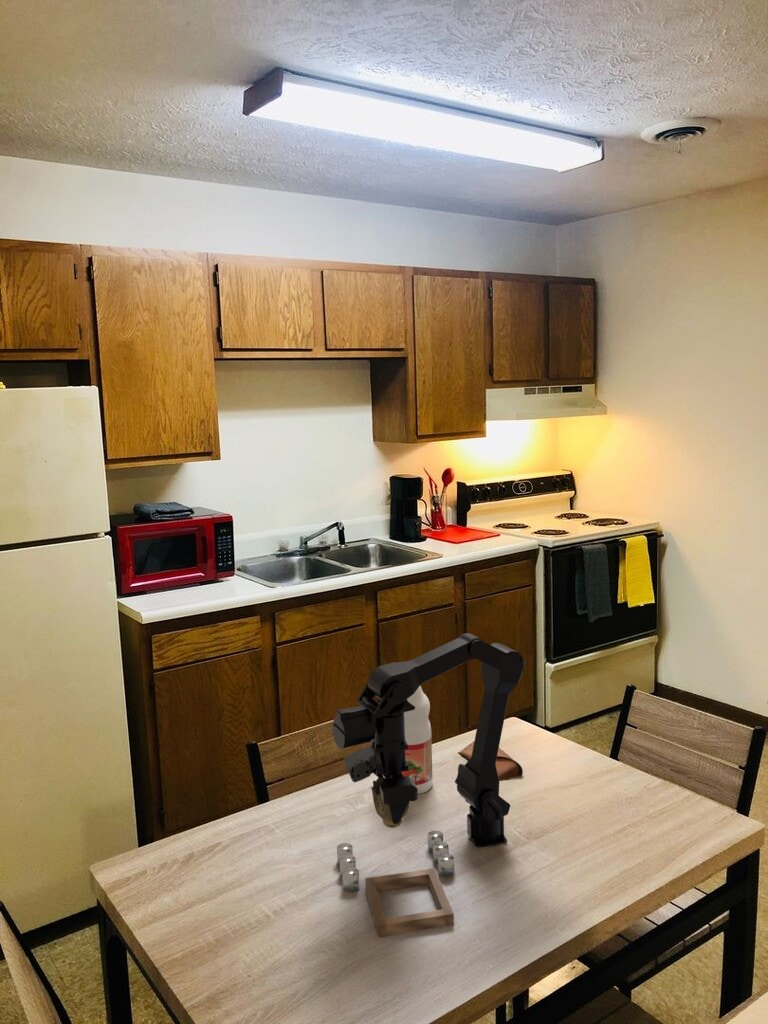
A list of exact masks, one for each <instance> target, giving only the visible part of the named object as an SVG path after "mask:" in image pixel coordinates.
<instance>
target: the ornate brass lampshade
mask: <svg viewBox="0 0 768 1024" xmlns="http://www.w3.org/2000/svg"><path fill="white" fill-rule="evenodd" d="M385 779H388V778H385ZM382 781H383V779H382V778H381V777H379V778H378V777H377V778H376V780H373V781H372V786H371V787H370V788H371V793H372V794H371V795H372V798H373V799H372V800H373V805H374V809H375V812H376V814H377V815H378V816H379V817H380V819H382V824H383V825H384V826H385V827H387V828H388V829H394V828H395V829H396V828H398V827H400V826H401V824H402V823H403V818H404V817H405V816H406V815H407V814H408V811H409V809H410V802H411V801H410V802H409V804H408V806H407V808H406V810H405V812H404V814H403V816H402V818H401V820H400V822H399V823H398V824H393V821H392V817H391V812H390V808H389V804H384V803H383V800H382V798H381V795H380V793H379V792H380V784H381V782H382Z"/></svg>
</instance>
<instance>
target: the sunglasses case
mask: <svg viewBox="0 0 768 1024" xmlns="http://www.w3.org/2000/svg"><path fill="white" fill-rule="evenodd" d="M474 741H475V740H473V741H472V742H471V743H469V744H468V745H466V746H465V747H464V748H463V749H462V750H460V751H457V754H458V755H460V756H461V757H463V758H464V759H465V760H467V762H468V761H469V759H470V758H471V756H472V751H473V746H474ZM496 769H497V773H498V777H499V782H500V781H504V780H508V779H514V778H517V777H522V775H523V767H522V766H521V764H519V762H517V761H516V760H515V759H513V758H512V757H511V756H510V755H508V753H506V752H505V751H504V750H502V749H501V748H500V747H499V749H498V754H497V759H496Z"/></svg>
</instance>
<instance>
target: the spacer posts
mask: <svg viewBox="0 0 768 1024" xmlns="http://www.w3.org/2000/svg"><path fill="white" fill-rule="evenodd" d="M353 848H354V847H353V845H352V844H351V843H349V842H343V843H340V844H338V845H337V846H336V855H337V856H336V857H337V859H336V860H337V865H339V873H340V874H339V875H340V878H342V889H343V891H344V892H346V893H355V892H357V891H358V890H359V889H360V872H359V869H358V868H357V861H356V857H355V855H354V854H353ZM427 849H428V851H429V852H430V853H432V861H433V863H434V864H435V865H437V866H438V867H437V870H438V871H437V873H438V876H440V877H441V878H445V879H448V878H449V879H450V878H453V876H454V875H455V856H454V855H453V854H451V853H449V852H450V851H449V844H448V843H447V842H445V841H444V833H443V832H442V831H441V830H431V831H429V832H428V833H427Z"/></svg>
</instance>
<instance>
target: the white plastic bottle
mask: <svg viewBox="0 0 768 1024" xmlns="http://www.w3.org/2000/svg"><path fill="white" fill-rule="evenodd" d="M407 700H408V701H409V702H410V703H411V704H412V705H414V706H415V709H414V710H412V711H407V712H404V718H405V740H406V742H407V744H408V750H406V762H407V764H408V770H409V771H402V774H403V777H404V776H409V777H410V778H412V779H413V780H414V782H415V784H416V787H417V789H418V795H420V794H424V793H426V792H428V791H429V790H430V789H431V788H432V785H433V782H434V780H433V779H434V778H433V750H432V749H433V745H432V743H433V742H432V741H433V740H432V727H431V721H430V719H429V715H430V712H431V711H430V710H431V709H430V708H431V704H430V700H429V698H428V696H427V695H426V694H425V693H424V691H423V689H422V685H420V686H419V687H418V689H417V690H416V692H415V693H414V694H413V695H412V696H411V697H409V698H408V699H407Z"/></svg>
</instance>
